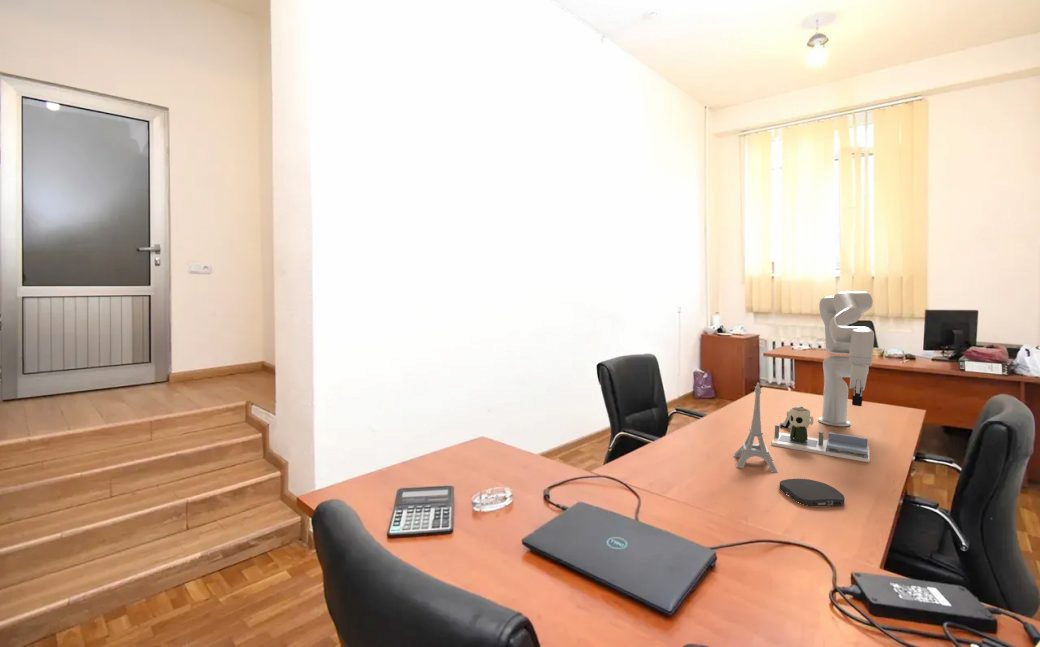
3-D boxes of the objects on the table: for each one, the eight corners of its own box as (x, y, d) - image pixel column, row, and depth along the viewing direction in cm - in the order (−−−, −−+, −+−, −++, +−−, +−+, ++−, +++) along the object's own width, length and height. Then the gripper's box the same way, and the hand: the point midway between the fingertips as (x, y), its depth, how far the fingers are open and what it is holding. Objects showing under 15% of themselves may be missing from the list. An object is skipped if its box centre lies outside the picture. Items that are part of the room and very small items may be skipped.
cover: (828, 441, 188) (828, 432, 188) (866, 448, 181) (867, 438, 181) (827, 447, 182) (827, 437, 182) (867, 454, 175) (867, 443, 174)
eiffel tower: (736, 467, 170) (739, 385, 167) (733, 455, 182) (736, 378, 180) (778, 472, 165) (782, 388, 163) (772, 459, 178) (776, 380, 175)
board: (777, 434, 206) (777, 420, 205) (868, 449, 187) (869, 434, 186) (771, 445, 193) (772, 430, 192) (869, 462, 174) (870, 446, 174)
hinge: (791, 419, 228) (800, 401, 225) (802, 424, 225) (811, 406, 222) (778, 426, 217) (787, 408, 214) (789, 432, 214) (798, 413, 211)
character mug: (780, 438, 198) (781, 407, 196) (790, 435, 201) (792, 405, 200) (806, 445, 188) (808, 413, 187) (817, 443, 191) (818, 411, 190)
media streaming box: (818, 486, 155) (818, 477, 155) (850, 507, 140) (851, 497, 140) (774, 487, 154) (774, 478, 154) (802, 508, 140) (802, 498, 140)
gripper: (849, 356, 196) (846, 399, 199) (848, 363, 184) (844, 408, 187) (872, 358, 192) (868, 402, 194) (872, 365, 180) (868, 411, 182)
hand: (856, 405), depth 190 cm, fingers closed
